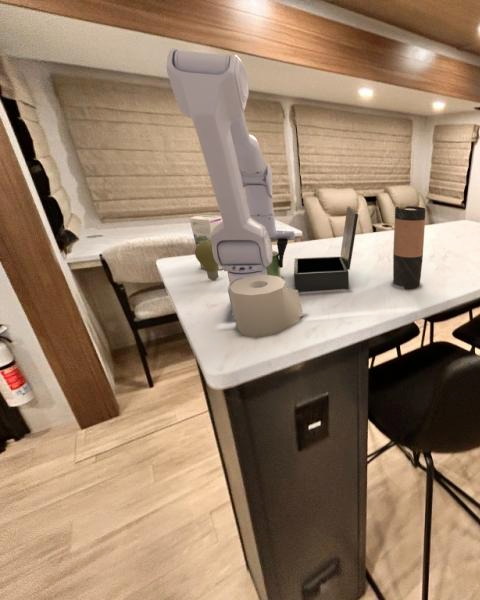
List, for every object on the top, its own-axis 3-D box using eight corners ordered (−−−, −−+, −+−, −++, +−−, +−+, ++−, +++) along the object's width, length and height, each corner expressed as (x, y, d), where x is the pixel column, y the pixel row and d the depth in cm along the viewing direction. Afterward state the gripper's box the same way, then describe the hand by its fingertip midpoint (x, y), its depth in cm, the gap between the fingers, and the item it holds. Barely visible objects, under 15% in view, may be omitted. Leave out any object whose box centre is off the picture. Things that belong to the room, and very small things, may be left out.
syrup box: (231, 264, 93) (222, 215, 87) (219, 270, 88) (208, 218, 82) (213, 263, 94) (203, 214, 88) (200, 269, 88) (188, 217, 82)
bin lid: (355, 213, 70) (358, 214, 70) (347, 206, 82) (349, 206, 82) (346, 269, 75) (349, 269, 75) (340, 254, 87) (342, 255, 87)
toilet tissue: (313, 314, 65) (310, 276, 61) (259, 343, 54) (252, 299, 51) (282, 303, 69) (278, 266, 65) (226, 328, 58) (217, 286, 54)
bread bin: (296, 295, 74) (293, 274, 71) (296, 276, 85) (294, 258, 83) (348, 291, 77) (348, 271, 75) (342, 274, 89) (341, 256, 87)
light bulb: (196, 280, 80) (187, 242, 76) (217, 275, 84) (209, 238, 80) (210, 285, 77) (201, 245, 73) (230, 278, 82) (223, 241, 78)
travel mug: (418, 291, 79) (423, 210, 71) (389, 288, 80) (391, 208, 72) (422, 281, 86) (427, 207, 78) (395, 278, 87) (398, 205, 79)
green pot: (281, 282, 81) (277, 256, 78) (257, 283, 80) (253, 256, 77) (282, 275, 86) (279, 250, 83) (260, 276, 85) (256, 250, 82)
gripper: (292, 212, 82) (297, 261, 87) (232, 212, 78) (241, 264, 83) (292, 216, 76) (297, 269, 81) (226, 216, 72) (236, 272, 77)
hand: (268, 267), depth 82 cm, fingers closed on green pot, 6 cm apart
